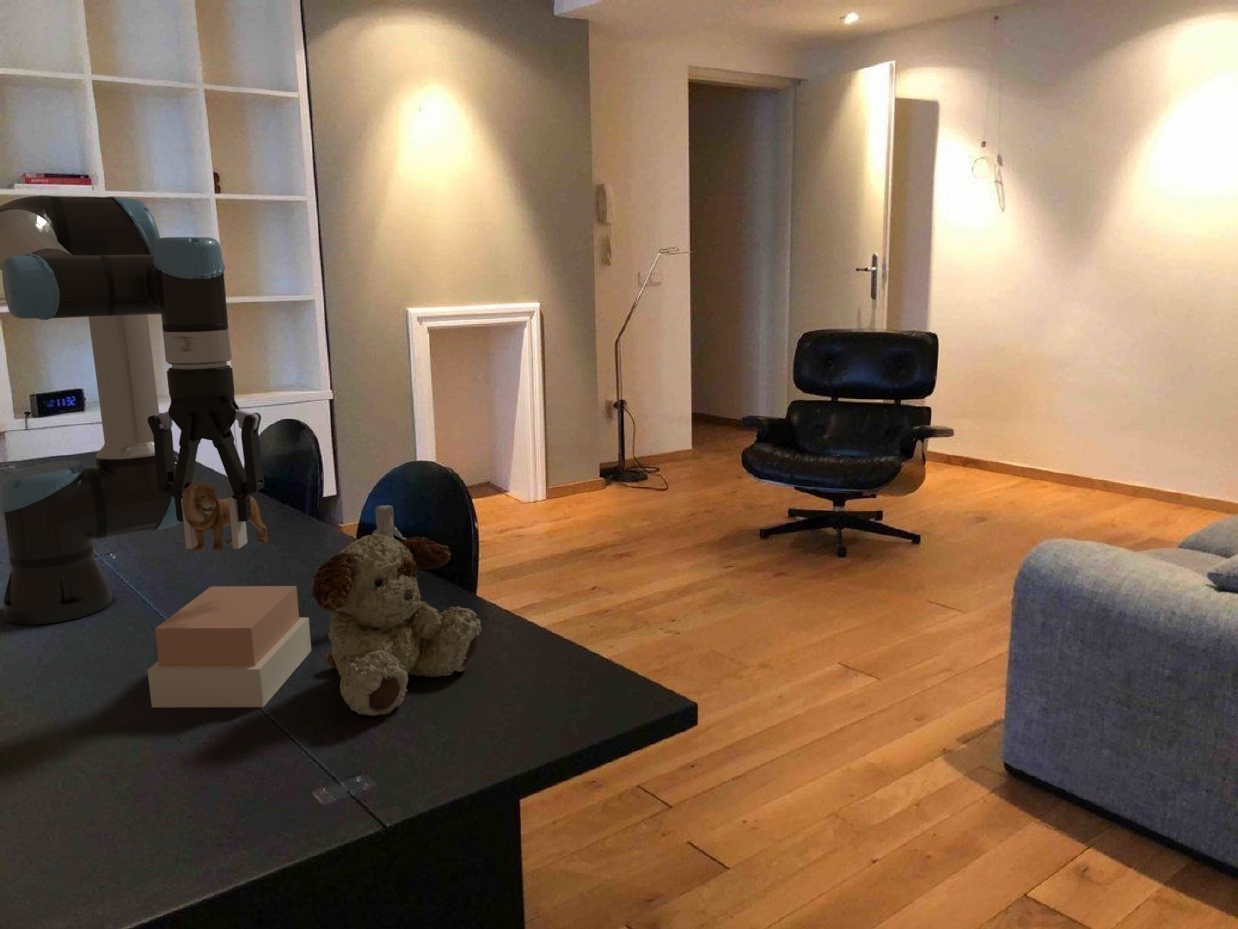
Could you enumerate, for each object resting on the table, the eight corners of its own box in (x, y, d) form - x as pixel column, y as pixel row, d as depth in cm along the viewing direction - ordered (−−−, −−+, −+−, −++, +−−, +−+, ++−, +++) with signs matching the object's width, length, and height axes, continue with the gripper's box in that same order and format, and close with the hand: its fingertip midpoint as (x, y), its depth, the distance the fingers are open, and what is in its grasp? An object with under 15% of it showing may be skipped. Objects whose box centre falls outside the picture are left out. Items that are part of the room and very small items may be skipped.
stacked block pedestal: (151, 707, 121) (142, 631, 119) (213, 651, 139) (207, 584, 137) (263, 707, 121) (256, 631, 119) (311, 650, 139) (305, 583, 137)
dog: (369, 733, 114) (357, 570, 110) (264, 698, 124) (250, 547, 120) (495, 664, 133) (489, 523, 129) (396, 638, 143) (387, 506, 139)
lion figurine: (209, 556, 119) (208, 483, 119) (171, 555, 120) (169, 482, 120) (277, 540, 134) (275, 475, 133) (242, 539, 135) (241, 474, 134)
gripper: (110, 368, 117) (131, 554, 122) (260, 367, 117) (276, 554, 122) (142, 362, 125) (161, 537, 130) (283, 361, 124) (298, 537, 129)
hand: (217, 545), depth 126 cm, fingers closed on lion figurine, 5 cm apart
